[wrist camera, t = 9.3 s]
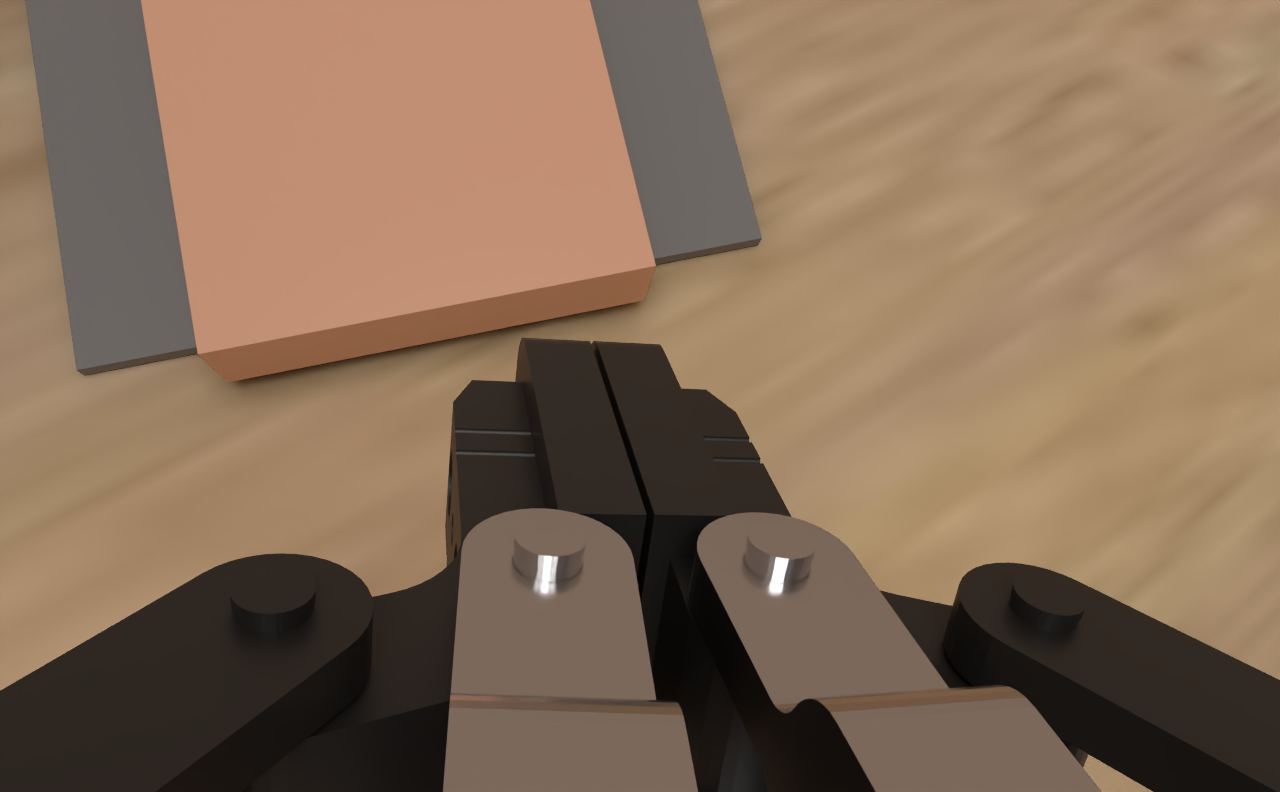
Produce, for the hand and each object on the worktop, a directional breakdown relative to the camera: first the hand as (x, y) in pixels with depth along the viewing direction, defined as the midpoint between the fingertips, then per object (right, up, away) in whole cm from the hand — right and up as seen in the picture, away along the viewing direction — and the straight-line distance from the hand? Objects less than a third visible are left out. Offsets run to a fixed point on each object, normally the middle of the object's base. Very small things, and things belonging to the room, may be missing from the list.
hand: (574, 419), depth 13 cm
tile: (-5, +2, +19) cm, 20 cm away
